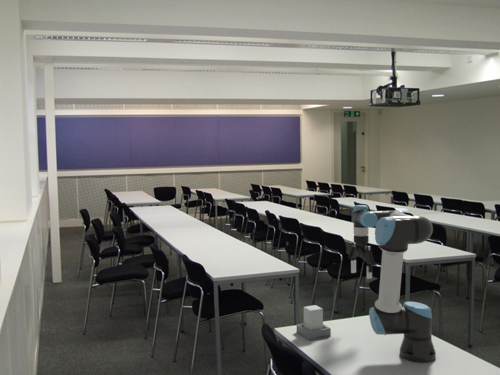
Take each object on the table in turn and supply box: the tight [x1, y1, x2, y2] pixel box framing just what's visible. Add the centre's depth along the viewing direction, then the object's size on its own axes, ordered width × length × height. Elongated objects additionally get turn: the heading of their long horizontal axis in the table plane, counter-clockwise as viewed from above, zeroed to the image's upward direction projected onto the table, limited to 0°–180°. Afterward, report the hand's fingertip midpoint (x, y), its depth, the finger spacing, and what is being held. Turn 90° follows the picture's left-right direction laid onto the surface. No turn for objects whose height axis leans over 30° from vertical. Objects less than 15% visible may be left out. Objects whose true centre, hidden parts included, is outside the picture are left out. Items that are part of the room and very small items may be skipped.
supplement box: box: [303, 304, 324, 331], centre depth 246 cm, size 7×7×13 cm
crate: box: [296, 322, 332, 341], centre depth 246 cm, size 12×12×4 cm
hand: (361, 275), depth 255 cm, fingers open, 13 cm apart
